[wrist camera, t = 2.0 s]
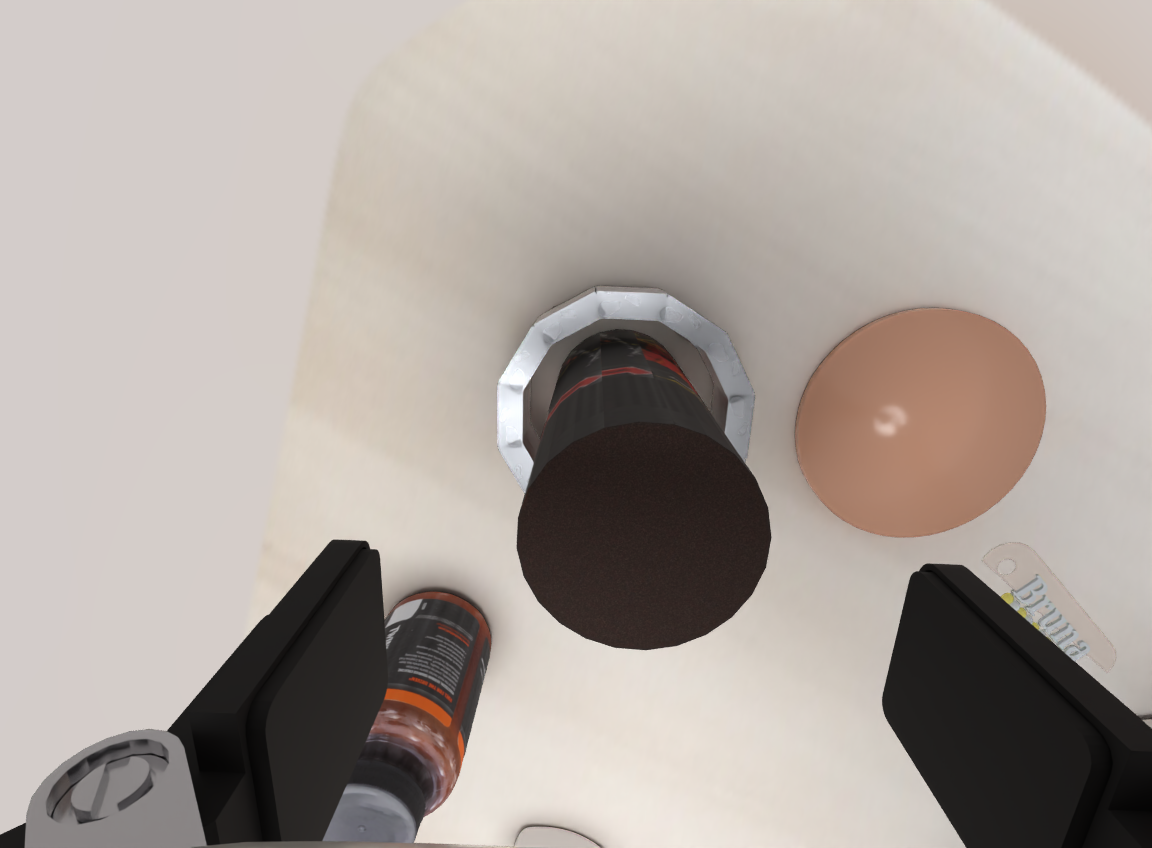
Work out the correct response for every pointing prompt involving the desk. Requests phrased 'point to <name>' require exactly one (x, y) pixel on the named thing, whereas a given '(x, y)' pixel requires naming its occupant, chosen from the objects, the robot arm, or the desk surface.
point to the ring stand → (632, 304)
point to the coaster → (920, 421)
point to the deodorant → (638, 503)
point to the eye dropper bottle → (552, 838)
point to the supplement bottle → (417, 720)
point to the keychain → (1050, 604)
